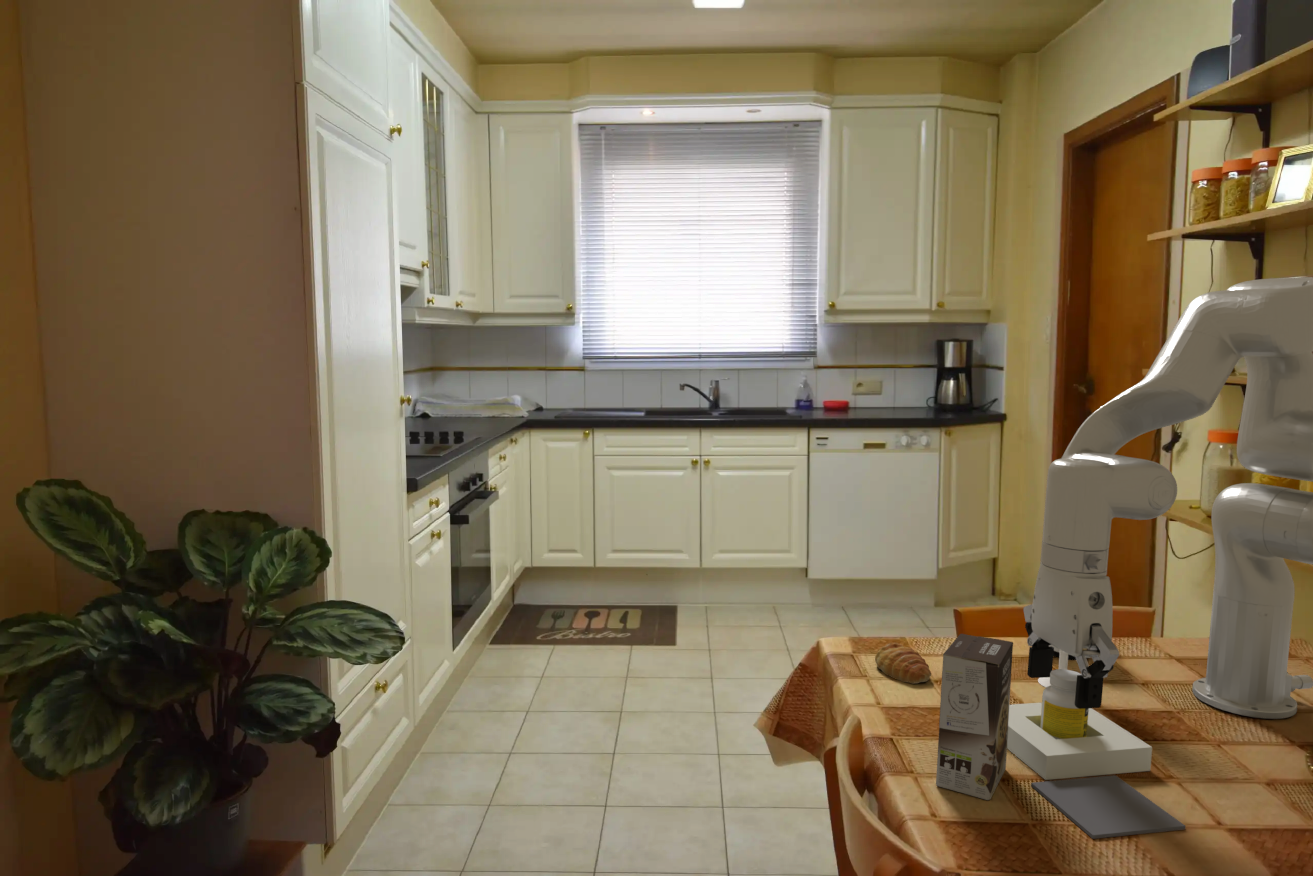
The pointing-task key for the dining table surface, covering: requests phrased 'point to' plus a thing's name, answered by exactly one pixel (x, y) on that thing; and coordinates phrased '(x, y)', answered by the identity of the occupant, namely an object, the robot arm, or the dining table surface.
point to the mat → (1106, 807)
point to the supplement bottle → (1063, 707)
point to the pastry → (902, 663)
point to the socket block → (1075, 746)
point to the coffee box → (974, 715)
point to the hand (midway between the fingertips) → (1062, 691)
